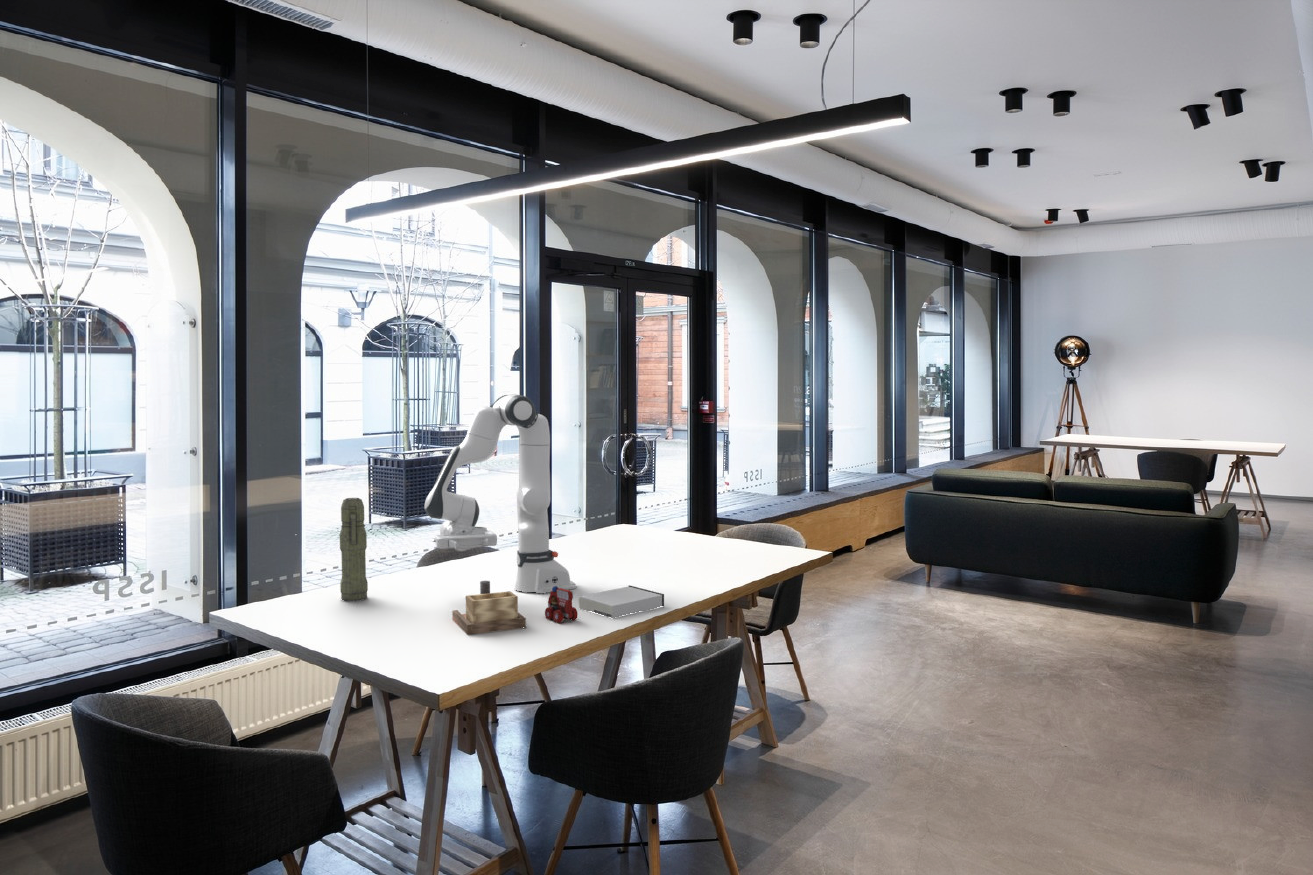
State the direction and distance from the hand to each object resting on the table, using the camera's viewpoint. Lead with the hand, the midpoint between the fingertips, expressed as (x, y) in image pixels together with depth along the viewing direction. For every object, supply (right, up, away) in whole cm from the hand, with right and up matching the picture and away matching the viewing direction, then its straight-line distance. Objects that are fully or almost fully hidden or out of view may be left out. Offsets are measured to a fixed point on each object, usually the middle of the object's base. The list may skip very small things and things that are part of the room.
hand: (471, 544), depth 294 cm
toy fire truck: (+30, -23, -9) cm, 39 cm away
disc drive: (+49, -23, +6) cm, 54 cm away
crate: (+9, -21, -16) cm, 28 cm away
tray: (+8, -23, -14) cm, 28 cm away
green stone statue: (-45, -21, +19) cm, 53 cm away
